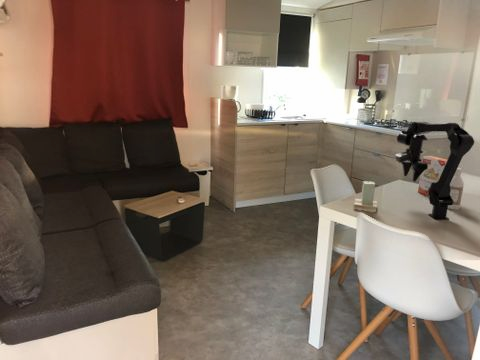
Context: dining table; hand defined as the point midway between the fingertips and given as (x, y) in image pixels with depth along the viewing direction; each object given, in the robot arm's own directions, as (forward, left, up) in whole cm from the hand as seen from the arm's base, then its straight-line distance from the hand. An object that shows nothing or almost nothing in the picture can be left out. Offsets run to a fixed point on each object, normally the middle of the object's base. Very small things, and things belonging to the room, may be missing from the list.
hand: (409, 178), depth 200 cm
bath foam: (-5, -21, -13) cm, 25 cm away
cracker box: (+16, -22, -13) cm, 30 cm away
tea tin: (-8, +23, -11) cm, 27 cm away
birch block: (-8, +24, -14) cm, 29 cm away
